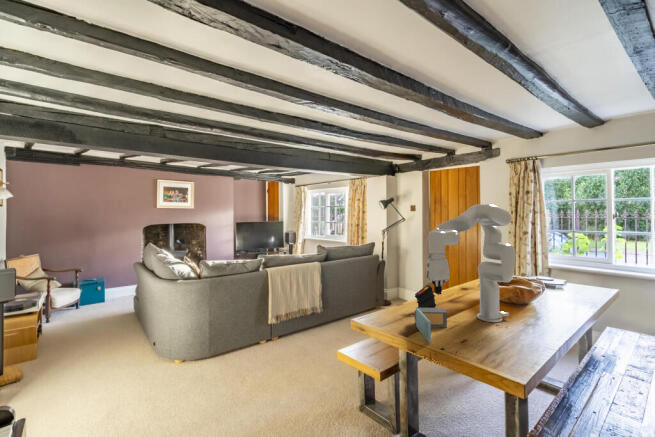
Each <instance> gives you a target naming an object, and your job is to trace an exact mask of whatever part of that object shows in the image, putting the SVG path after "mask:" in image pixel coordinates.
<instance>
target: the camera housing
mask: <svg viewBox="0 0 655 437" xmlns="http://www.w3.org/2000/svg"><path fill="white" fill-rule="evenodd" d="M418 309H419V310H420V311H421V312H422V313H423V314H424V315H425V316H426V317H427V318H428V319H429V320H430V322H431V328H440V327H442V329H443V327H445V329H446V327H447V328H448V318H447V317H448V314H447V313H448V312H447V310H445V308H444V307H435V308H418ZM413 313H414V317H413V318H414V321H415V323H416V309H415V310H414V312H413Z"/></svg>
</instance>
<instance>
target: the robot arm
mask: <svg viewBox="0 0 655 437" xmlns="http://www.w3.org/2000/svg"><path fill="white" fill-rule="evenodd" d="M511 221H512V216H511V213H510V212H509V211H508V210H506V209H504V208H502V207H500V206H497V205H494V204H492V203H491V204H489V203H487V204H486V203H485V204H474V205H472V206H470V207H469V208H467V209H466V210H465V211H463V212H462V213H461V214H460V215H459V216H456V217H453V218H452V219H448V220H447V221H446V220H445V221H444V222H442V223H440V224H439V225H437V226H436V227H435V228H434V229H433V230H431V231H429V232H428V254H426V258H428V259H427V262H426V282H427V283H430V284H432V285H433V289H434V290H433V292H434V294H436V295H438V296H439V295H442V292H443V291H442V290H443V289H442V287H443V285H444V283H446V282H449V279H450V278H451V277H450V266H449V261H448V259H447V258H446V246H454V245H457V244H458V243H459V242H460V240H461V234H460V233H463V232H466V231H469V230H471V229H472V228H474V227H475V226H476V225H477V224H480V226H481V228H482V229H483V232H484V236H483V237H484V239H483V247H482V255H483V257H484V258H486V259H487V261H486V260H485V261H481V262H480V263H479V264H478V266H477V274H478V279H479V313H477V314H476V318H477V319H479V320H481V321H484V322H488V323H500V322H502V321H503V317H509V316H510V313H509V312H504V311H500V286H499V283H498V282H500V283H501V282H503V283H510V282H511V281H512V280H513V277H514V274H515V264H516V255H517V254H516V249H515V247H514V246H513V245H512V244H511V243H505V242H503V240H502V239H503V234H502V230H501V229H500V227H506V226H508V225H509V224H510V223H511ZM502 242H503V243H502ZM488 260H493V261H488ZM494 261H499V262H494ZM500 261H501V262H500Z"/></svg>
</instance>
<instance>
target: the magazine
mask: <svg viewBox="0 0 655 437" xmlns="http://www.w3.org/2000/svg"><path fill="white" fill-rule="evenodd" d="M433 289H434V287H431V285H428V284H426V285H425V286H424V287H422V288H421V289H420V290H419V291H417V292H416V293H415V294H414V298H416V303H417V307H416V308H436V307H437V303H436V299H435V297H436V295H435V293H434V290H433Z"/></svg>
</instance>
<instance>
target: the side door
mask: <svg viewBox="0 0 655 437" xmlns="http://www.w3.org/2000/svg"><path fill="white" fill-rule="evenodd" d="M415 310H416V322H415V327H416V328H417V330H418V331H419V333H421V335H422V336H423V338H424V339H425V340H426V342H427V343H432V327H431V322H430V320H429V319H428V318H427V317H426V316H425V315H424V314H423V313H422V312H421V311H420V310H419V309H418V308H417V307H415Z"/></svg>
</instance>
